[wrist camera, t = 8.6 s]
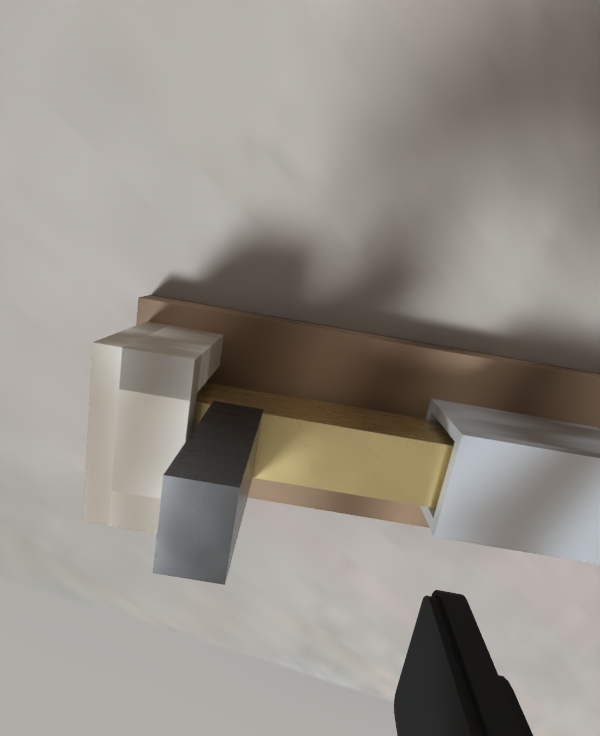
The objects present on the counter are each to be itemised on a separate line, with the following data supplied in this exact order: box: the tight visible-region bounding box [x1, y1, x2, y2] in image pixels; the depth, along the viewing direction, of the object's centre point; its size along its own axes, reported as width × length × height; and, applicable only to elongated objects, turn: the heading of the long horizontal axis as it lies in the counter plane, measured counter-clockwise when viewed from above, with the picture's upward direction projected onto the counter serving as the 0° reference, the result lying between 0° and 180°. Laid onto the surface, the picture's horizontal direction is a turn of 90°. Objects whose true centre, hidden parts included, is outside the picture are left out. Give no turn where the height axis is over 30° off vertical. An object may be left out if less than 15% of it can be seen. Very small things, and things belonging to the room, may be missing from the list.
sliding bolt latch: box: [83, 295, 600, 564], centre depth 19 cm, size 24×9×7 cm, turn 80°
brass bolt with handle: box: [153, 382, 455, 585], centre depth 16 cm, size 15×3×9 cm, turn 80°
